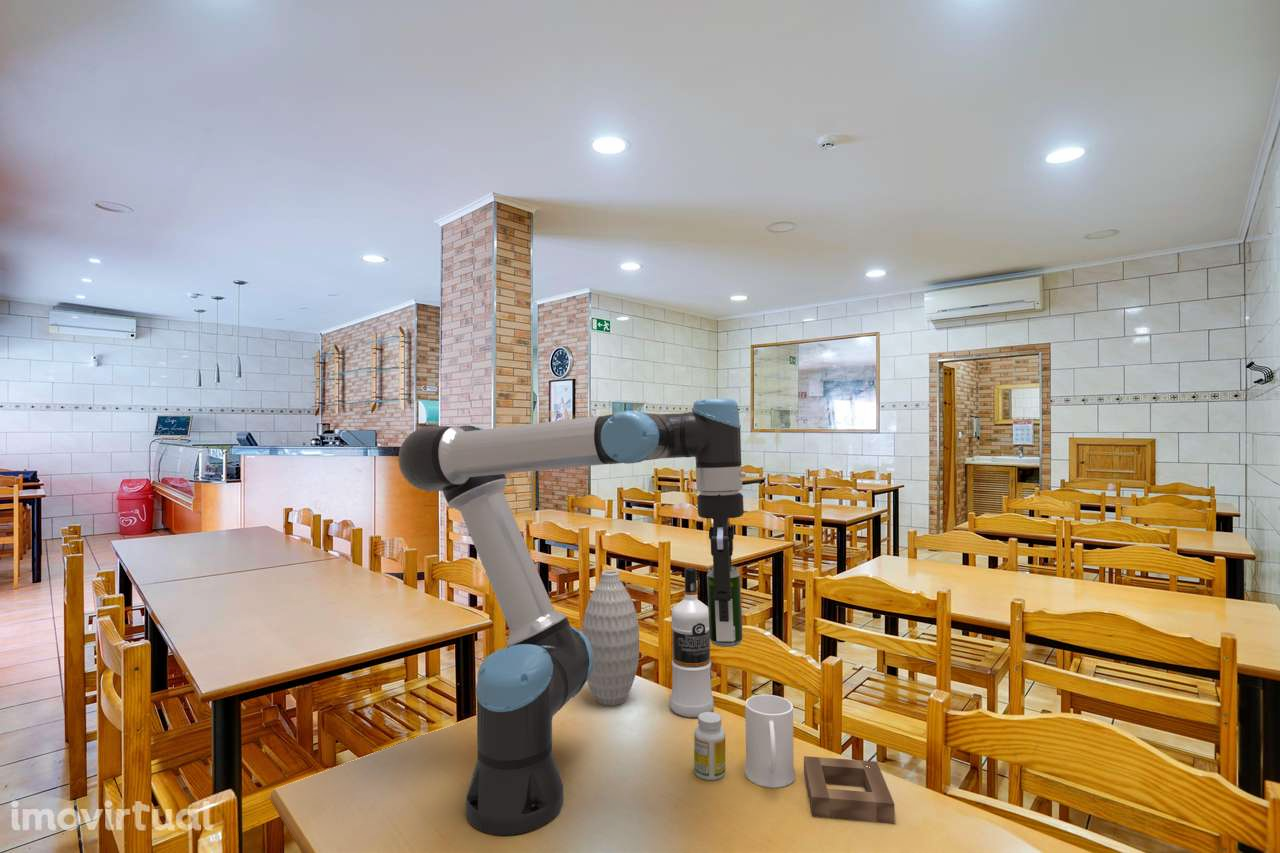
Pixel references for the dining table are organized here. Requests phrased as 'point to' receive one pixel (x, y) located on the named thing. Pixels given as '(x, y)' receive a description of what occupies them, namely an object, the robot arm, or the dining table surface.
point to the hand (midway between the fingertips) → (725, 634)
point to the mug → (769, 741)
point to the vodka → (691, 653)
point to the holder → (846, 802)
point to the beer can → (735, 605)
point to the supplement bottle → (709, 747)
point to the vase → (611, 639)
